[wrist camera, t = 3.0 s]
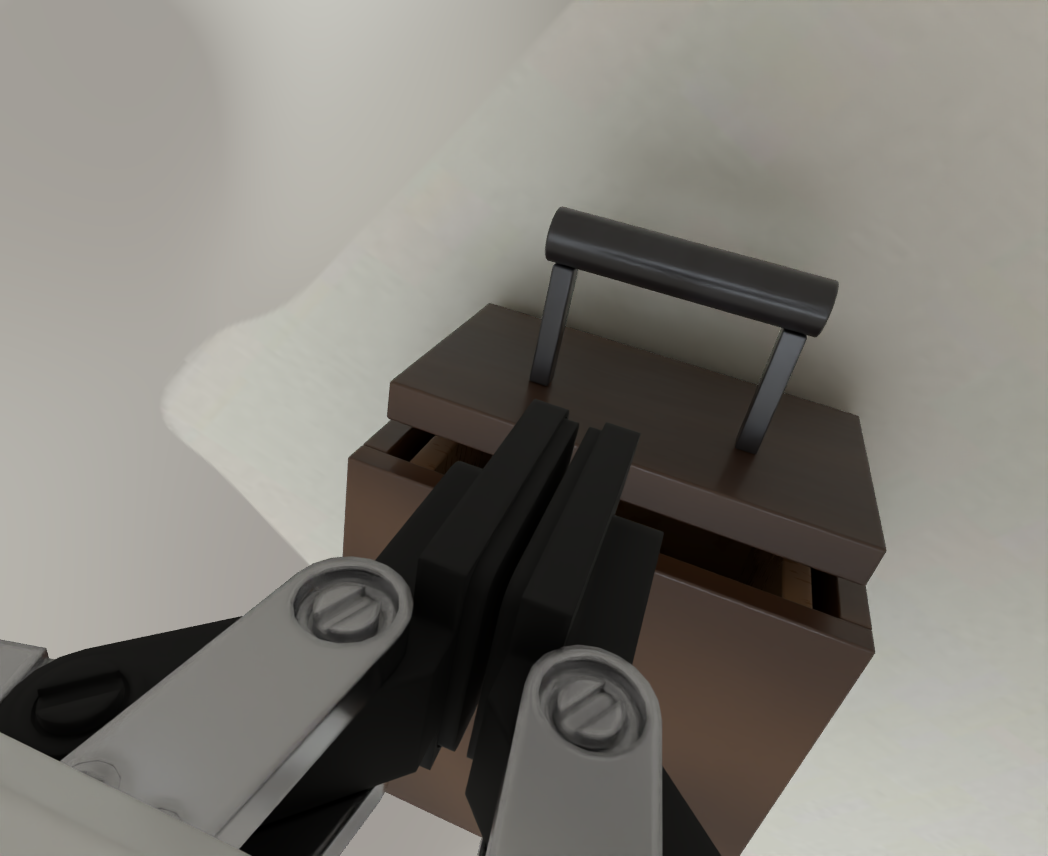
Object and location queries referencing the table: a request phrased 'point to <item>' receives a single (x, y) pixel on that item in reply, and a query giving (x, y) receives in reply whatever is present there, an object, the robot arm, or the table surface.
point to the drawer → (670, 409)
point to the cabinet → (668, 663)
